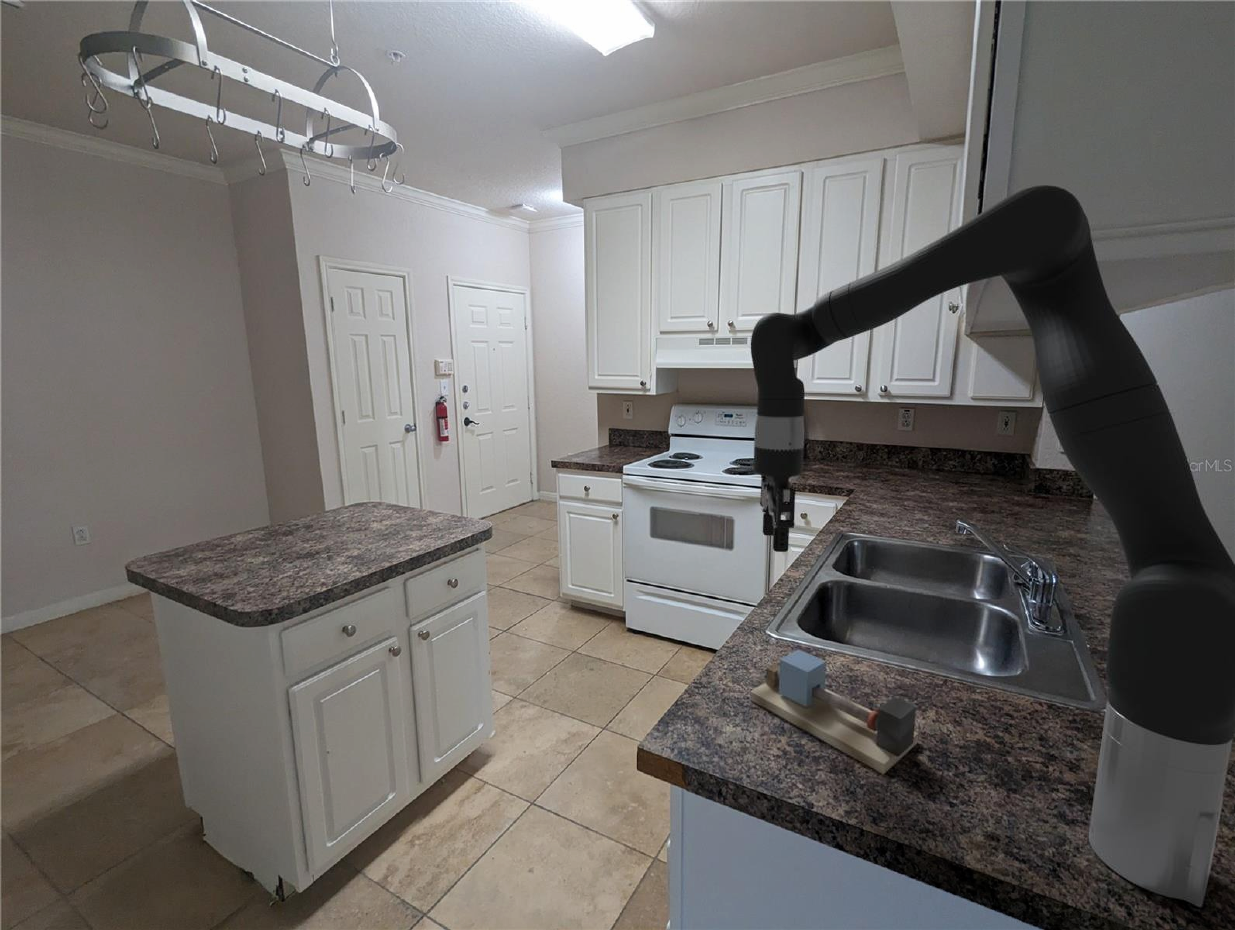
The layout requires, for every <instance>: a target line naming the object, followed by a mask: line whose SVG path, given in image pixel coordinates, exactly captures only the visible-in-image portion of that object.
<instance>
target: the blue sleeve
mask: <svg viewBox="0 0 1235 930" xmlns="http://www.w3.org/2000/svg"><path fill="white" fill-rule="evenodd" d="M779 665H780V673H779V693H780V694H782V695H784V696H786V697H788V698H790V699H792V700H793V701H795V702H797V703H799V704H801V705H803V706H805V707H807V706H809V705H810V704H812V688H814V687H815V686H816V687H818V688H820V689H822V690H824V691H825V689H826V676H827V675H826V670H827V661H826V660H824V659H822V658H819V657H817V656H814V655H812V654H810V653H808V652H806V651H803V650H801V649H798V648H797V649H796V650H794V651H793V652H791V653H789V654H788V655H786V656H783V657H782V658H779Z"/></svg>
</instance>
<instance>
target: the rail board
mask: <svg viewBox="0 0 1235 930" xmlns="http://www.w3.org/2000/svg"><path fill="white" fill-rule="evenodd" d="M765 672H766V673H765V682H764V683H762V684H761V685H759V686H757V687H756V688H754V689H752V690H750V692H749V693H750V694H749V695H750V697H749V701H752V702H753V703H755V704H757V705H759V706H760V707H762V708H764V709H766V710H768V711H769V712H771V713H773V714H774V715H777V716H779V717H780V718H782V719H784V720H785V721H787V722H789V723H791V724H793V725H795V726H796V727H798V728H800V729H801V730H804V731H805V732H807V733H808V734H810V735H812V736H814V737H816V738H818V739H820V740H822V741H823V742H825V743H827V744H829V745H830V746H832V747H834V748H835V749H838V750H839V751H841V752H842V753H845V754H846V755H848V756H850V757H852V758H854V759H855V760H857V761H859V762H861V763H863V764H864V765H866V766H868V767H870V768H871V769H873V770H875V771H877V772H879V773H880V774H882V775H885V774H886V773H887V772H888V771H889V770H890V769H891V768H892V767H893V766H895V764H897V763H898V762H899V761H900V760H901V759H902V758H903V757H904V756H905V755H907V753H909V751H910V750H912V749H913V748H914V747H915V746H916V745H917V744H918V743H919V734H920V733H919V732H917V731H915V724H916V712H917V706H916V705H914V704H911V703H910V702H907V701H906V700H905V701H904V700H902V699H900V698H897V697H896V696H893V697H892V698H890V699H889V700H888V701H887V702H885V703H884V704H883V705H881V706H880V707H878V711H876V710H871V709H869V708H867V707H865V706H863V705H861V704H858V703H857V702H855V701H852V700H850V699H848V698H845V697H844V696H841V695H840V694H838V693H835V692H834V691H831V690H829V689H827V688H825V691H824V690H822V689H820V688H818V687H816V686H815V687H814V688H812V704H810V705H809V706H807V707H805V706H803V705H801V704H799V703H797V702H795V701H793V700H792V699H790V698H788V697H786V696H784V695H782V694H780V693H779V673H780V664H778V663H773V664H771V665H769V666H768V667H765Z"/></svg>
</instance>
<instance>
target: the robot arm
mask: <svg viewBox="0 0 1235 930" xmlns="http://www.w3.org/2000/svg"><path fill="white" fill-rule="evenodd" d="M1091 232H1092V231H1091V227H1090V224H1089V220H1088V217H1087V215H1086V213H1085V212H1084V209H1083V206H1082V205H1081V203H1080V201H1079V200H1078V198H1077V197H1076V196H1075V195H1074V194H1073V193H1071V192H1070V191H1069V190H1067V189H1065V188H1062V187H1060V186H1056V185H1048V184H1047V185H1046V184H1044V185H1036V186H1035V185H1034V186H1031V187H1026V188H1023V189H1021V190H1019V191H1017V192H1015V193H1013V194H1011V195H1010V196H1009V195H1008V197H1005V198H1004V199H1002V200H1000V201H999V202H997V203H995V204H994V205H992V206H991V207H989V208H987V209H985V210H984V211H982V212H981V213H979V214H978V215H976V216H975V217H973V218H972V219H970V220H968V221H967V222H965V223H963V224H961V225H960V226H958V227H957V228H956V229H953V230H952V231H950V232H949V233H947V234H945V235H943V236H941V237H940V238H938V239H936V240H934V241H933V242H931V243H929V244H927V245H925V246H923V247H922V248H920V249H918V250H916V251H915V252H913V253H911V254H909V255H908V256H905V257H903V258H901V259H899V260H898V261H895V262H893V263H891V264H889V265H888V266H885V267H883V268H880V269H878V270H876V271H874V272H872V273H870V274H867V275H865V276H862V277H861V278H858V279H856V280H853V281H851V282H849V283H847V284H844V285H842V286H840V287H837V288H835V289H833V290H831V291H828V292H827V293H825V294H823V295H821V296H819V297H818V298H817V299H816V300H815V302H814V304H813V306H811V307H808V308H807V309H805V310H802V311H800V312H796V313H794V314H791V313H790V314H789V313H783V312H772V313H767V314H764V315H763V316H762V317H761V318H759V320H758V321H757V322H756V324H755V325H754V328H753V331H752V333H751V338H750V356H751V360H752V367H753V372H754V377H755V380H756V385H757V403H756V404H757V405H756V406H757V407H756V421H755V426H754V440H753V442H754V443H753V444H754V445H753V446H754V448H753V472H754V473H755V474H757V475H760V477H761V479H760V480H761V483H760V501H759V504H760V507H761V511H762V512H761V513H763V515H762V534H763V535H764V536H768V537H769V536H771V537H773V538H772V549H773V551H774V552H777V553H785V552H788V550H789V542H790V541H789V539H790V529H794V527H795V525H796V523H795V511H796V510H795V508H796V507H795V506H796V493H797V492H796V489H795V488H793V487H792V486H790V481H789V479H790V478H792V477H799V476H800V475H801V474H802V473H803V469H804V468H803V465H804V449H805V448H804V445H805V422H804V419H805V418H804V414H805V413H804V412H805V394H806V393H805V392H806V391H805V384H804V382H803V380H801V378H798V377H797V376H796V368H795V361H797V360H800V359H805V358H808V357H809V356H811V355H814V354H817V353H818V352H819V351H822V350H824V349H825V348H826V349H827V348H828V347H829V346H830V347H831V345H833V344H835V343H836V342H840V341H843V340H846V339H849V338H852V337H854V336H857V335H860V334H863V333H865V332H868V331H871V330H873V329H876V328H878V327H881V326H883V325H886V324H887V323H889V322H892V321H894V320H896V319H898V318H900V317H901V316H903V315H905V314H907V312H910V311H912V310H913V309H915V308H916V307H918V306H919V305H922V304H923V303H925V302H927V301H928V300H930V299H933V298H935V297H937V296H939V295H941V294H943V293H945V292H948V291H951V290H953V289H956V288H959V287H962V286H964V285H965V286H966V285H967V284H971V283H974V282H980V281H982V280H987V279H988V280H989V279H991V278H995V277H1000V276H1001V277H1002V278H1003V280H1004V281H1005V283H1006V284H1007V286H1008V287H1009V289H1010V291H1011V292H1012V294H1013V296H1014V297H1015V300H1016V301H1017V304H1018V305H1019V308H1020V309H1021V311H1022V314H1023V315H1024V317H1025V319H1026V322H1027V325H1028V327H1029V330H1030V333H1031V335H1032V339H1033V344H1034V350H1035V351H1034V352H1035V358H1036V359H1035V360H1036V368H1037V372H1038V378H1039V384H1040V388H1041V389H1040V390H1041V393H1042V397H1043V398H1042V399H1043V401H1044V404H1045V407H1046V411H1047V414H1048V415H1049V419H1050V421H1051V424H1052V426H1053V430H1054V432H1055V435H1056V436H1057V440H1058V442H1059V445H1060V447H1061V448H1062V450H1063V452H1064V454H1065V456H1066V458H1067V460H1068V462H1069V463H1070V464H1071V466H1072V467H1073V469H1074V470H1075V472H1076V473H1077V475H1078V476H1079V477H1080V479H1081V480H1082V482H1083V483H1084V484H1085V485H1086V487H1088V490H1090V492H1091V493H1092V494H1093V495H1094V497H1095V498H1096V499H1097V500H1098V501H1099V503H1100V504H1101V505H1102V507H1103V508H1104V510H1106V511H1105V512H1106V513H1107V514H1108V515H1109V517H1110V519H1111V521H1112V523H1113V525H1114V527H1115V530H1116V532H1117V534H1118V537H1119V540H1120V543H1121V546H1122V549H1123V552H1124V553H1123V554H1124V556H1125V559H1126V562H1127V563H1126V564H1127V567H1128V571H1129V575H1130V580H1129V581H1128V582H1126V583H1125V584H1124V585H1123V586H1122V587H1121V589H1120V590H1119V591H1118V593H1117V595H1116V597H1115V599H1114V602H1113V606H1112V611H1111V617H1110V626H1109V635H1108V643H1107V654H1106V655H1107V656H1106V664H1105V677H1106V681H1107V684H1108V690H1107V699H1106V706H1105V707H1106V708H1105V714H1104V721H1103V729H1102V736H1101V737H1102V738H1101V743H1100V751H1099V757H1098V758H1099V759H1098V765H1097V772H1096V779H1095V785H1094V786H1095V787H1094V793H1093V800H1092V809H1091V816H1090V819H1089V830H1088V831H1089V833H1088V840H1089V844H1090V847H1091V848H1092V850H1093V851H1094V853H1095V854H1096V856H1098V858H1099V859H1100V860H1101V861H1102V862H1103V863H1104V864H1105V865H1106V866H1107V867H1109V868H1110V869H1111V870H1112V871H1114V872H1115V873H1117V874H1118V875H1119V876H1121V877H1122V878H1124V879H1126V880H1127V881H1128V882H1131V883H1133V884H1135V885H1136V886H1139V887H1141V888H1142V889H1145V890H1148V891H1150V892H1152V893H1155V894H1157V895H1161V896H1164V897H1167V898H1173V899H1178V900H1184V901H1186V902H1188V903H1190V904H1192V905H1194V906H1195V907H1198V908H1202V907H1203V905H1204V899H1205V895H1206V891H1207V887H1208V882H1209V878H1210V874H1211V868H1212V863H1213V858H1214V852H1215V847H1216V841H1217V840H1216V839H1217V836H1218V829H1219V825H1220V818H1221V811H1222V806H1223V801H1224V795H1223V794H1224V789H1225V783H1226V778H1227V772H1228V768H1229V761H1230V755H1231V751H1232V750H1231V749H1232V744H1233V739H1234V736H1235V562H1234V561H1233V559H1232V557H1231V556H1230V554H1229V552H1228V551H1227V549H1226V547H1225V545H1224V544H1223V542H1222V540H1221V538H1220V537H1219V535H1218V533H1217V531H1216V530H1215V528H1214V526H1213V524H1212V522H1211V520H1210V518H1209V517H1208V515H1207V513H1206V510H1205V509H1204V506H1203V504H1202V501H1201V498H1200V496H1199V493H1198V489H1197V486H1196V482H1195V479H1194V476H1193V471H1192V470H1191V466H1190V463H1189V461H1188V458H1187V455H1186V452H1185V449H1184V446H1183V444H1182V439H1181V438H1180V436H1179V432H1178V430H1177V427H1176V424H1175V421H1174V418H1173V416H1172V413H1171V411H1170V408H1169V406H1168V404H1167V402H1166V399H1165V397H1164V394H1163V391H1162V390H1161V388H1160V387H1161V386H1160V385H1159V384H1158V380H1157V379H1156V376H1155V375H1154V373H1153V371H1152V369H1151V367H1150V365H1149V363H1148V362H1147V359H1146V358H1145V355H1144V354H1143V352H1142V351H1141V349H1140V347H1139V345H1138V344H1137V342H1136V340H1135V339H1134V337H1133V336H1132V335H1131V333H1130V331H1129V330H1128V329H1127V327H1126V325H1125V324H1124V323H1123V321H1122V320H1121V318H1120V316H1119V315H1118V314H1117V312H1116V310H1115V309H1114V307H1113V305H1112V303H1111V300H1110V298H1109V296H1108V294H1107V291H1106V288H1105V286H1104V285H1105V284H1104V282H1103V278H1102V275H1101V272H1100V268H1099V265H1098V262H1097V257H1096V254H1095V253H1096V252H1095V248H1094V244H1093V241H1092V233H1091ZM782 516H784V517H785V519H782Z"/></svg>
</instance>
